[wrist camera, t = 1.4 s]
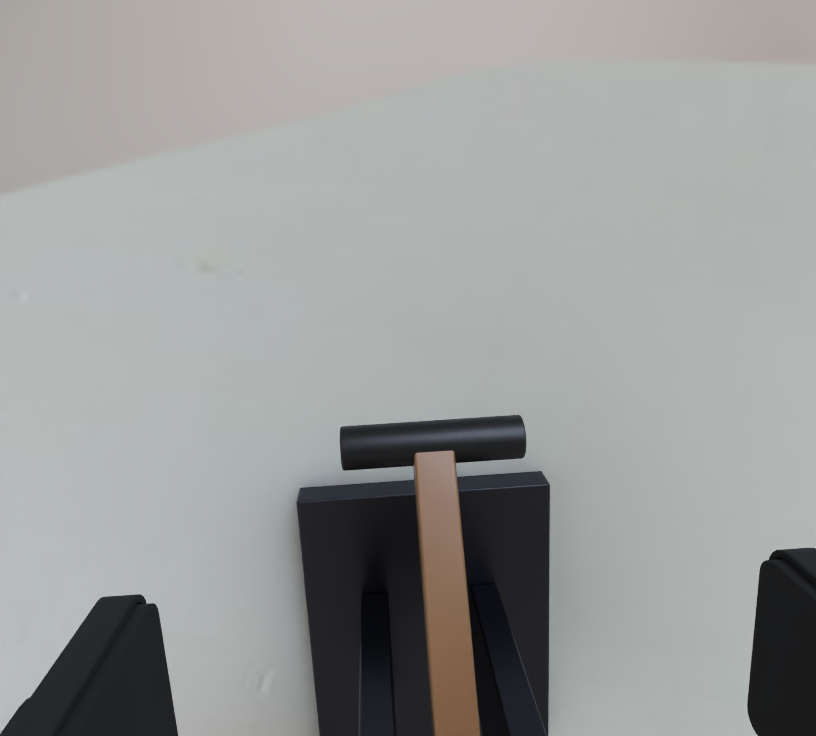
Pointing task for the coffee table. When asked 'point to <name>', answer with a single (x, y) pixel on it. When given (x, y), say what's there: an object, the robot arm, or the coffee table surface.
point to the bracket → (404, 610)
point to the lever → (440, 538)
